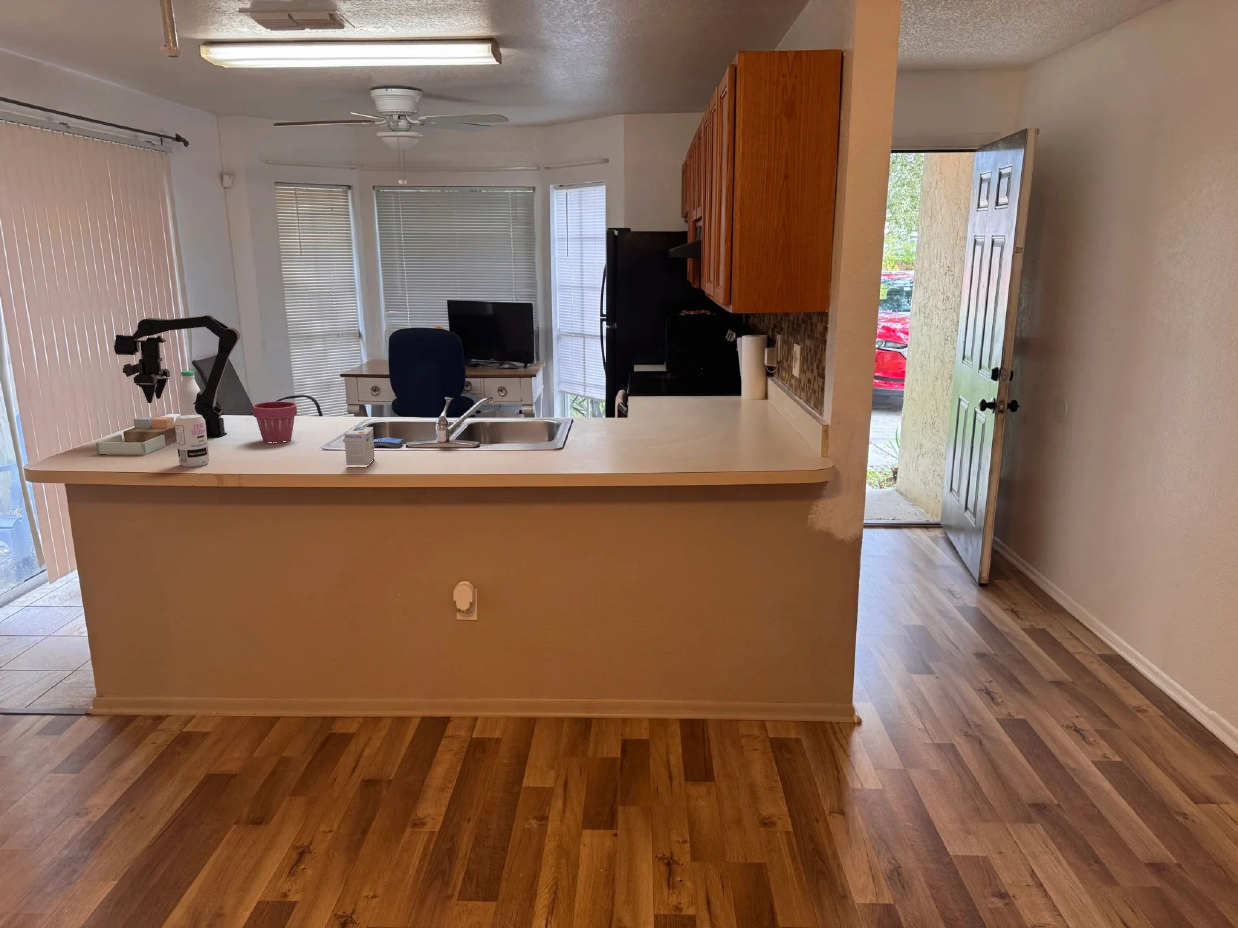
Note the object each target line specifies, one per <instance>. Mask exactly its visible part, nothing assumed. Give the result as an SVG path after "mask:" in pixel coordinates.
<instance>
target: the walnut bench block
mask: <svg viewBox="0 0 1238 928" xmlns="http://www.w3.org/2000/svg"><path fill="white" fill-rule="evenodd" d="M122 434H123V443H143V442H145V441H148V440H150V439H153V438H155V437H158V436H160V435H164V436H165V444H166V447H167V446H169V445H171V444H174V443H177V439H176V430H175V426H172V427H169V428H152V427H151V428H134V427H131V428H129V429H126V430H124V431H123V432H122Z"/></svg>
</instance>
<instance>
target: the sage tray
mask: <svg viewBox="0 0 1238 928" xmlns="http://www.w3.org/2000/svg"><path fill="white" fill-rule="evenodd" d="M122 436H123V435H122V434H117V435H113V436H111V437H107V438H105V439H102V440H99V441H98V442H97V441H96V442H95V445H96V455H97V454H106V455H105V456H145V457H146V456H147V455H149V454H152V453H155V452H156V451H159V450H162V449H164V448H166V447H167V446H166V444H165V436H164V435H160V436H158V437H155V438H153V439H150V440H148V441H145V442H143V443H125V442H123V437H122Z"/></svg>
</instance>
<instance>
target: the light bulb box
mask: <svg viewBox="0 0 1238 928" xmlns="http://www.w3.org/2000/svg"><path fill="white" fill-rule="evenodd" d="M374 441H375V440H374V426H358V427H357V426H353V427H351V428H350V429H349V430H347V432H346V433H344V450H345V466H346V465H368V464H370V462H371V461H372V460H373V459H374V457H375V442H374ZM370 465H371V464H370Z"/></svg>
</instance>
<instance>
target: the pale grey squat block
mask: <svg viewBox="0 0 1238 928" xmlns="http://www.w3.org/2000/svg"><path fill="white" fill-rule="evenodd" d="M154 418H157V417H156V416H139V417H136V418H133V428H151V427H152V421H151V419H154Z"/></svg>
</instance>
